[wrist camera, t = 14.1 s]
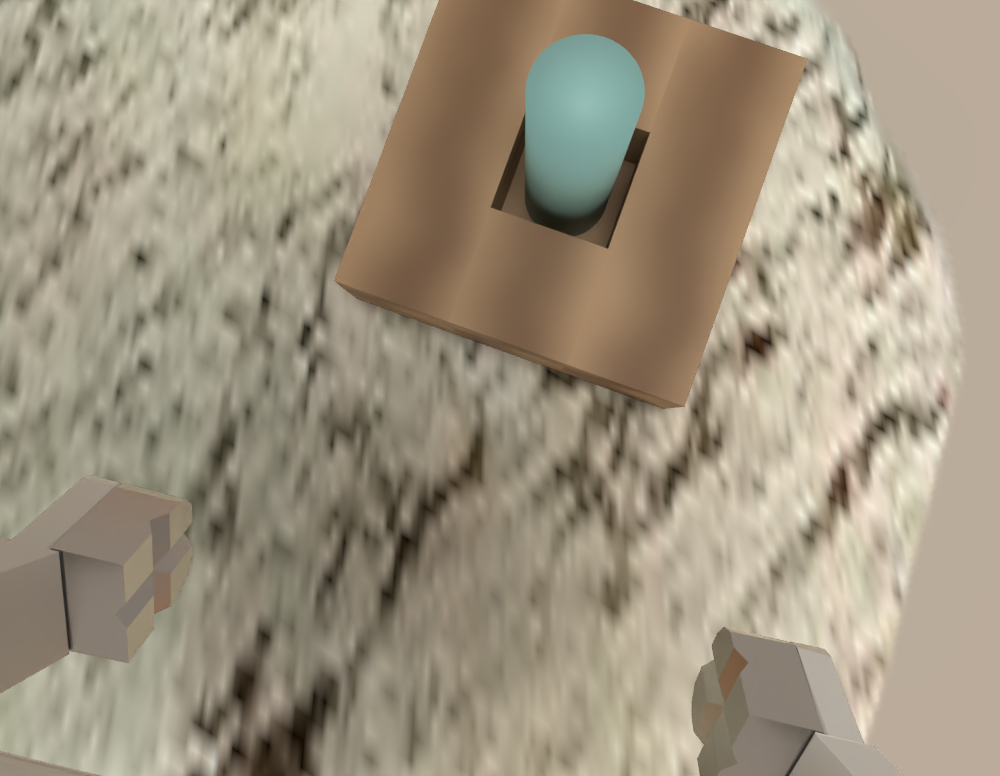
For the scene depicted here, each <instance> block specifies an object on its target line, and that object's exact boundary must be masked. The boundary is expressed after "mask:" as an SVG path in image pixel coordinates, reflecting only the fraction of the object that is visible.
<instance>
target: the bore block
mask: <svg viewBox="0 0 1000 776" xmlns="http://www.w3.org/2000/svg"><path fill="white" fill-rule="evenodd" d="M579 34H592V35H599V36H603V37H606V38H608V39H611V40H613V41H615V42H616V43H618V44H620V45H621V46H622V47H624V48H625V49H626V50H627V51H628V52H629V53H630V54H631V55H632V57H633V58H634V59H635V61H636V62H637V64H638V66H639V68H640V70H641V73H642V76H643V80H644V86H645V97H644V104H643V107H642V111H641V113H640V116H639V119H638V122H637V124H636V127H635V130H634V132H633V135H632V138H631V141H630V143H629V146H628V149H627V151H626V154H625V157H624V160H623V162H622V165H621V168H620V170H619V173H618V176H617V179H616V181H615V184H614V187H613V189H612V192H611V195H610V198H609V200H608V203H607V206H606V208H605V211H604V213H603V215H602V217H601V219H600V220H599V221H598V223H597V224H596V225H595V226H594V227H593V228H591V229H590V230H588V231H587V232H585V233H583V234H580V235H577V236H570V235H567V234H565V233H562V232H559V231H556V230H553V229H550V228H547V227H545V226H542V225H539V224H536V223H534V221H533V220H532V219H531V217H530V215H529V213H528V211H527V208H526V204H525V95H526V82H527V78H528V74H529V72H530V69H531V67H532V65H533V64H534V62H535V60H536V59H537V58H538V56H539V55H540V54H541V53H542V52H543V51H544V50H545V49H546V48H547V47H549V46H550V45H551V44H553V43H555V42H556V41H558V40H560V39H563V38H565V37H569V36H573V35H579ZM806 61H807V58H804V57H801V56H798V55H795V54H792V53H789V52H786V51H783V50H780V49H777V48H774V47H771V46H768V45H765V44H762V43H759V42H756V41H753V40H750V39H747V38H744V37H741V36H738V35H735V34H732V33H729V32H726V31H723V30H720V29H717V28H714V27H711V26H708V25H705V24H702V23H699V22H696V21H693V20H690V19H687V18H684V17H681V16H678V15H675V14H672V13H669V12H666V11H663V10H660V9H657V8H654V7H651V6H648V5H645V4H642V3H639V2H636V1H633V0H439V2H438V4H437V7H436V10H435V12H434V15H433V18H432V20H431V23H430V26H429V28H428V31H427V34H426V37H425V39H424V42H423V45H422V47H421V50H420V53H419V55H418V58H417V61H416V63H415V66H414V69H413V71H412V74H411V77H410V79H409V82H408V85H407V87H406V90H405V93H404V95H403V98H402V101H401V103H400V106H399V109H398V111H397V114H396V117H395V119H394V122H393V125H392V127H391V130H390V133H389V135H388V138H387V141H386V143H385V146H384V149H383V151H382V154H381V157H380V159H379V162H378V165H377V167H376V170H375V173H374V175H373V178H372V181H371V183H370V186H369V189H368V191H367V194H366V197H365V199H364V202H363V205H362V207H361V210H360V213H359V215H358V218H357V221H356V223H355V226H354V229H353V232H352V234H351V237H350V240H349V242H348V245H347V248H346V250H345V253H344V256H343V258H342V261H341V264H340V266H339V269H338V272H337V274H336V277H335V280H334V281H335V282H336V283H338V284H339V285H340V286H342V287H343V288H344V289H345V290H347V291H348V292H349V293H351V294H352V295H353V296H355V297H356V298H357V299H360V300H363V301H366V302H369V303H371V304H374V305H377V306H380V307H382V308H385V309H388V310H391V311H394V312H396V313H399V314H402V315H405V316H407V317H410V318H413V319H416V320H419V321H421V322H424V323H427V324H430V325H432V326H435V327H438V328H441V329H444V330H446V331H449V332H452V333H455V334H457V335H460V336H463V337H466V338H469V339H471V340H474V341H477V342H480V343H482V344H485V345H488V346H491V347H494V348H496V349H499V350H502V351H505V352H507V353H510V354H513V355H516V356H519V357H521V358H524V359H527V360H530V361H533V362H535V363H538V364H541V365H544V366H546V367H549V368H552V369H555V370H558V371H560V372H563V373H566V374H569V375H571V376H574V377H577V378H580V379H583V380H585V381H588V382H591V383H594V384H596V385H599V386H602V387H605V388H608V389H610V390H613V391H616V392H619V393H621V394H624V395H627V396H630V397H633V398H635V399H638V400H641V401H644V402H646V403H649V404H652V405H655V406H658V407H660V408H663V409H665V408H675V407H684V406H685V403H686V400H687V397H688V394H689V392H690V389H691V386H692V383H693V380H694V377H695V375H696V372H697V369H698V366H699V363H700V361H701V358H702V355H703V352H704V349H705V346H706V344H707V341H708V338H709V335H710V332H711V329H712V327H713V324H714V321H715V318H716V315H717V313H718V310H719V307H720V304H721V301H722V298H723V296H724V293H725V290H726V287H727V284H728V281H729V279H730V276H731V273H732V270H733V267H734V265H735V262H736V259H737V256H738V253H739V250H740V248H741V245H742V242H743V239H744V236H745V233H746V231H747V228H748V225H749V222H750V219H751V217H752V214H753V211H754V208H755V205H756V202H757V200H758V197H759V194H760V191H761V188H762V185H763V183H764V180H765V177H766V174H767V171H768V169H769V166H770V163H771V160H772V157H773V154H774V152H775V149H776V146H777V143H778V140H779V137H780V135H781V132H782V129H783V126H784V123H785V121H786V118H787V115H788V112H789V109H790V106H791V104H792V101H793V98H794V95H795V92H796V89H797V87H798V84H799V81H800V78H801V75H802V73H803V70H804V67H805V64H806Z"/></svg>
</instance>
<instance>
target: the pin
mask: <svg viewBox="0 0 1000 776" xmlns="http://www.w3.org/2000/svg"><path fill="white" fill-rule="evenodd" d="M644 97H645V86H644V80H643V76H642V73H641V70H640V68H639V66H638V64H637V62H636V61H635V59H634V58H633V57H632V55H631V54H630V53H629V52H628V51H627V50H626V49H625V48H624V47H622V46H621V45H620V44H618V43H616V42H615V41H613V40H611V39H608V38H606V37H603V36H599V35H592V34H579V35H573V36H569V37H565V38H563V39H560V40H558V41H556V42H555V43H553V44H551V45H550V46H549V47H547V48H546V49H545V50H544V51H543V52H542V53H541V54H540V55H539V56H538V58H537V59H536V60H535V62H534V64H533V65H532V67H531V69H530V72H529V74H528V78H527V82H526V95H525V204H526V208H527V211H528V213H529V215H530V217H531V219H532V220H533V221H534V223H536V224H539V225H542V226H545V227H547V228H550V229H553V230H556V231H559V232H562V233H565V234H567V235H570V236H577V235H580V234H583V233H585V232H587V231H588V230H590V229H591V228H593V227H594V226H595V225H596V224H597V223H598V221H599V220H600V219H601V217H602V215H603V213H604V211H605V208H606V206H607V203H608V200H609V198H610V195H611V192H612V189H613V187H614V184H615V181H616V179H617V176H618V173H619V170H620V168H621V165H622V162H623V160H624V157H625V154H626V151H627V149H628V146H629V143H630V141H631V138H632V135H633V132H634V130H635V127H636V124H637V122H638V119H639V116H640V113H641V111H642V107H643V104H644Z"/></svg>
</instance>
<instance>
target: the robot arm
mask: <svg viewBox="0 0 1000 776" xmlns="http://www.w3.org/2000/svg"><path fill="white" fill-rule="evenodd" d="M191 523H192V504H191V503H190V502H189V501H187V500H186V499H183V498H179V497H175V496H171V495H167V494H163V493H160V492H156V491H152V490H148V489H144V488H141V487H137V486H133V485H129V484H125V483H124V484H122V483H119V482H115V481H111V480H108V479H104V478H100V477H96V476H90V477H86V478H83V479H81V480H80V481H79V482H78V483H76V484H75V485H74V486H73V487H72V488H71V489H70V490H68V491H67V492H66V493H65V494H64V495H63V496H62V497H60V498H59V499H58V500H57V501H56V502H55V503H53V504H52V505H51V506H50V507H49V508H48V509H47V510H45V511H44V512H43V513H42V514H41V515H40V516H38V517H37V518H36V519H35V520H34V521H33V522H32V523H30V524H29V525H28V526H27V527H26V528H25V529H24V530H22V531H21V532H20V533H19V534H18V535H17V536H15V537H14V538H13V539H12V540H9V539H4V538H0V693H2V692H4V691H5V690H7V689H9V688H11V687H12V686H14V685H16V684H18V683H19V682H21V681H23V680H25V679H26V678H28V677H30V676H32V675H33V674H35V673H37V672H38V671H40V670H42V669H44V668H45V667H47V666H49V665H51V664H52V663H54V662H56V661H58V660H59V659H61V658H63V657H65V656H66V655H68V654H69V651H74V652H78V653H83V654H88V655H93V656H97V657H102V658H107V659H112V660H116V661H121V662H126V663H129V662H130V660H131V659H132V658H133V656H134V655H135V654H136V652H137V651H138V650H139V648H140V647H141V646H142V644H143V643H144V642H145V640H146V639H147V638H148V636H149V635H150V633H151V632H152V631H153V629H154V614H155V613H157V612H159V611H161V610H163V609H165V608H168V607H170V606H171V605H172V604H173V602H174V601H175V599H176V598H177V596H178V595H179V594H180V592H181V590H182V588H183V586H184V583H185V581H186V579H187V576H188V574H189V570H190V565H191V560H192V544H191V543H190V541H189V540H188V538H187V537H186V536H185V534H184V532H185V531H186V529H187V528H188V527H189V526H190V524H191ZM712 650H713V656H714V660H713V661H711V662H709V663H707V664H706V665H704V666H702V667H701V670H700V672H699V675H698V677H697V680H696V682H695V686H694V692H693V697H692V723H693V731H694V733H695V734H696V735H697V736H698V738H699V739H700V740H701V742H702V743H703V744H704V746H703V748H702V750H701V752H700V754H699V756H698V758H697V760H698V766H699V773H700V776H903V775H902V774H901V773H900V772H899V771H898V770H897V768H896V767H895V766H893V764H892V763H891V762H890V761H888V759H887V758H886V757H884V755H883V754H882V753H881V752H880V751H879V750H877V748H876V747H875V746H871V745H867V744H864V742H863V739H862V736H861V734H860V731H859V729H858V726H857V724H856V721H855V718H854V716H853V713H852V711H851V708H850V705H849V703H848V700H847V698H846V695H845V692H844V690H843V687H842V685H841V682H840V679H839V677H838V674H837V672H836V669H835V667H834V664H833V661H832V659H831V656H830V654H829V653H828V652H827V651H826V650H825V649H822V648H818V647H813V646H808V645H804V644H799V643H794V642H787V641H783V640H778V639H774V638H770V637H765V636H761V635H757V634H752V633H748V632H743V631H739V630H735V629H730V628H726V627H723V628H722V629H721V630H720V631H719V632H718V633H717V635H716V637H715V639H714V641H713V644H712ZM0 776H100V775H95V774H91V773H87V772H83V771H79V770H75V769H71V768H67V767H63V766H58V765H54V764H50V763H46V762H42V761H38V760H34V759H30V758H26V757H21V756H17V755H13V754H9V753H5V752H1V751H0Z"/></svg>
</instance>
